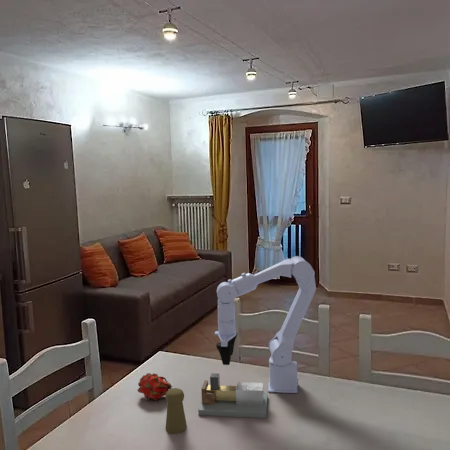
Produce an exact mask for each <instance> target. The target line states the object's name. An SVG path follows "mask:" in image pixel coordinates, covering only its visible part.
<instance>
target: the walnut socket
mask: <svg viewBox="0 0 450 450" xmlns="http://www.w3.org/2000/svg"><path fill="white" fill-rule="evenodd" d="M207 385H209V380H208V379H206V380H204V381H203V384H202V386H201V401H202V404H203V405H215V403H216V400H215V393H209V392H206V387H207Z"/></svg>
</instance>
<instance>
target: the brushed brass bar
mask: <svg viewBox="0 0 450 450" xmlns="http://www.w3.org/2000/svg"><path fill="white" fill-rule="evenodd" d="M220 380H221V379H220V373H213V372H212V373H210V376H209V384H208V385H207V387H206V392H209V393H215V400H223V401H236V387H237V385H224V384H223V385H221V384H220V383H221V382H220Z"/></svg>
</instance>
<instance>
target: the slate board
mask: <svg viewBox="0 0 450 450" xmlns="http://www.w3.org/2000/svg"><path fill="white" fill-rule="evenodd" d="M267 409H268V392H264V401H263V407H259V406H237V405H236V401H223V400H216V403H215V405H203V404H202V400H201V402H200V405H199V407H198V411H197V412H198V415H199V416H214V417H215V416H217V417H218V416H220V417H221V416H222V417H236V418H237V417H238V418H256V419H257V418H259V419H266V418H267Z"/></svg>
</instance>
